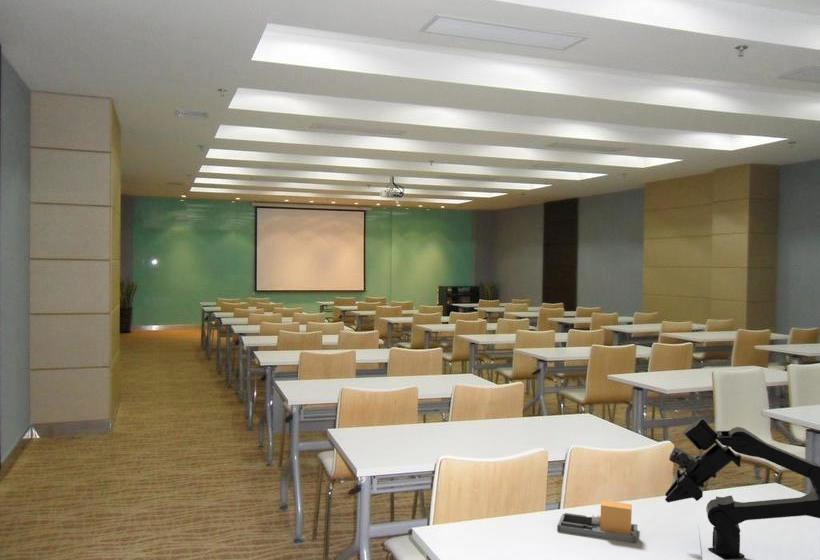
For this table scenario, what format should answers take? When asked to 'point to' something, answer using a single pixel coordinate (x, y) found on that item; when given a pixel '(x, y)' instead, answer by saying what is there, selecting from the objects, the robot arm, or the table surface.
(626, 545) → the table surface
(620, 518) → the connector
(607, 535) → the tray
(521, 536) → the table surface
